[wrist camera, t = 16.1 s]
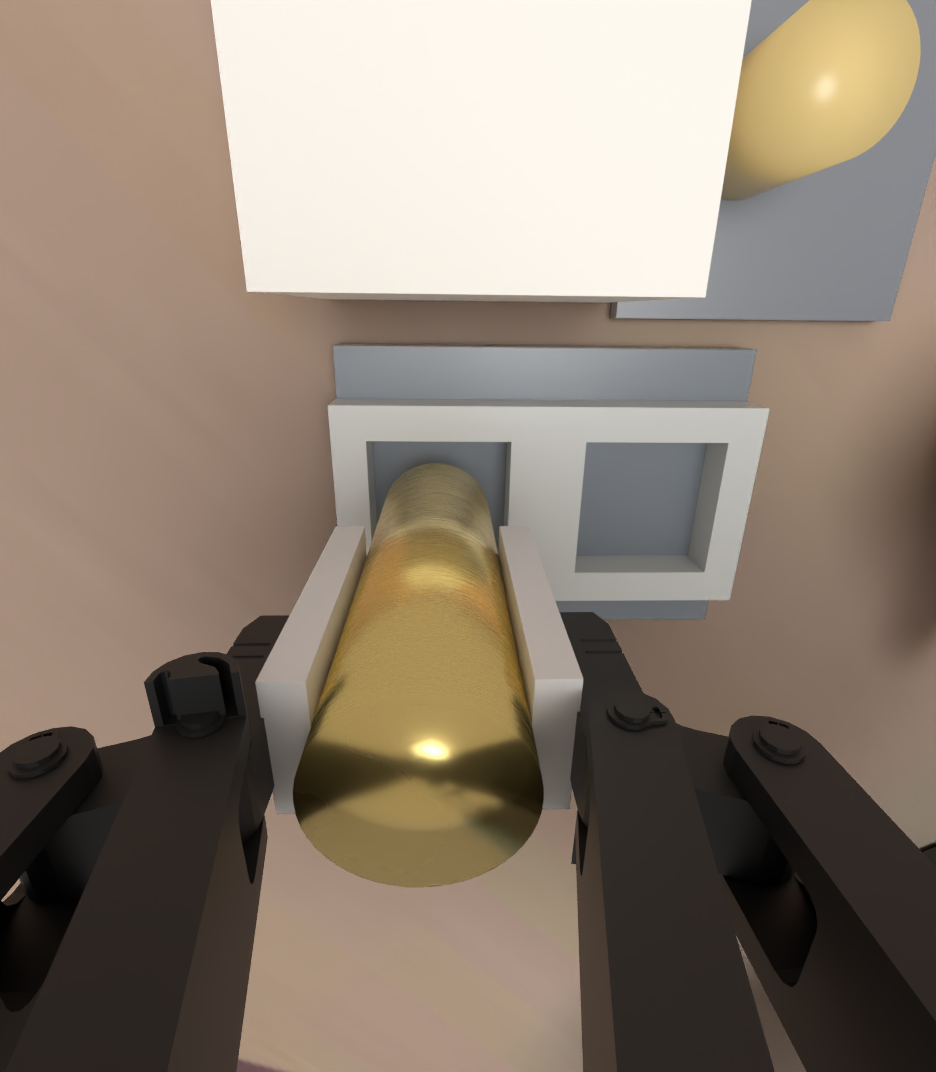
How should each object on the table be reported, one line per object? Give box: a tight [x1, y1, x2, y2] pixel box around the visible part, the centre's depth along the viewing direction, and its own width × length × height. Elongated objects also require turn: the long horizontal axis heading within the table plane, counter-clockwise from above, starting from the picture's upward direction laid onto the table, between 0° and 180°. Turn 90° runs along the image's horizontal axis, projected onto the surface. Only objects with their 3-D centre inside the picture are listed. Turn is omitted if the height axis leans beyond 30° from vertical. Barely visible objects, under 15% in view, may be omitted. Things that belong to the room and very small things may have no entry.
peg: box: [293, 463, 544, 887], centre depth 14 cm, size 4×4×12 cm
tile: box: [610, 0, 936, 321], centre depth 16 cm, size 11×10×6 cm
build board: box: [328, 344, 770, 620], centre depth 22 cm, size 11×15×3 cm
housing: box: [211, 0, 752, 303], centre depth 14 cm, size 10×10×9 cm
